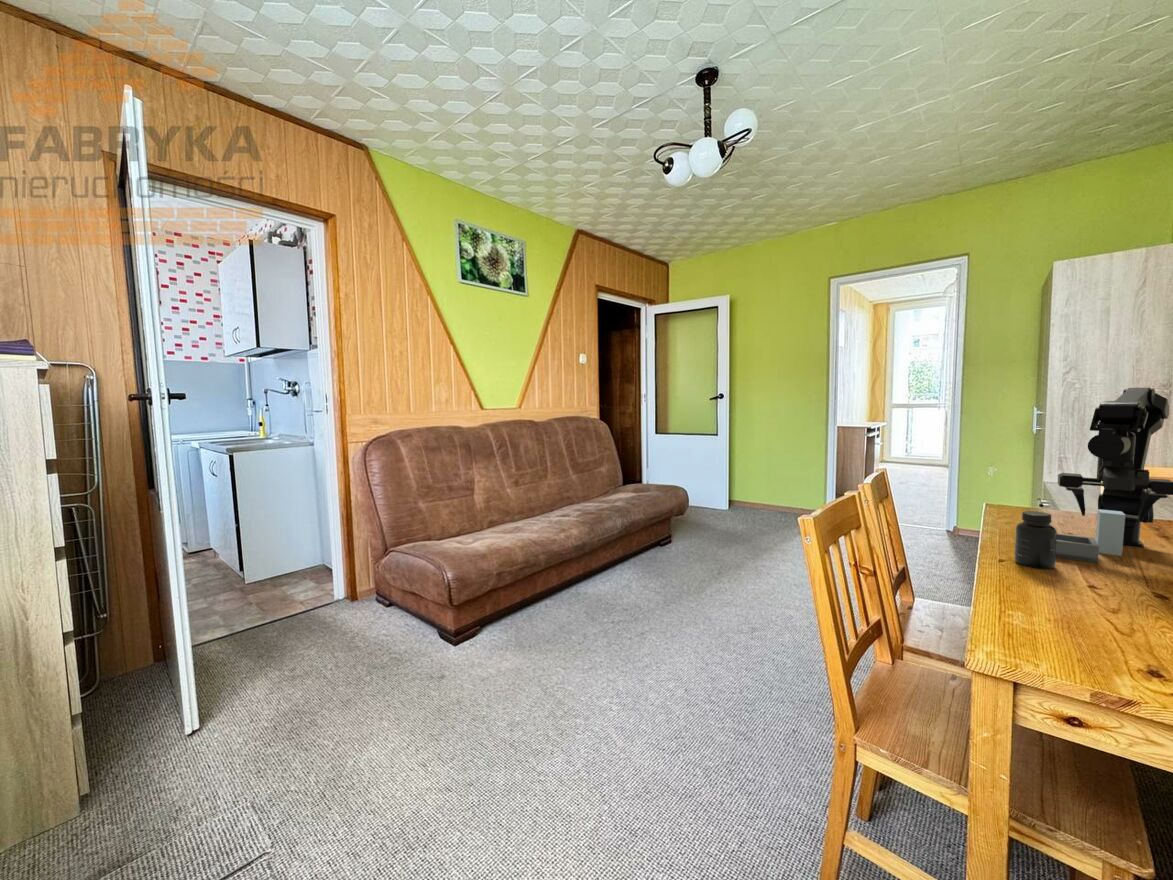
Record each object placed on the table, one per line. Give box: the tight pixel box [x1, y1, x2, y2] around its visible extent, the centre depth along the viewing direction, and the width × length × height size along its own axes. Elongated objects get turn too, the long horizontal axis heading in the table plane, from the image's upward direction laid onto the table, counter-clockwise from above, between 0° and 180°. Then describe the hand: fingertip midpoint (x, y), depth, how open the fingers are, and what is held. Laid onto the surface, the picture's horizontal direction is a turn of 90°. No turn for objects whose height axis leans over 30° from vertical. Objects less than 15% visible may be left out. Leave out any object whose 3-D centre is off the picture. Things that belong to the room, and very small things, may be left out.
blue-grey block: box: [1094, 508, 1125, 557], centre depth 114 cm, size 4×4×10 cm
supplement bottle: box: [1014, 510, 1058, 570], centre depth 108 cm, size 7×7×12 cm
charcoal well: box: [1056, 533, 1100, 564], centre depth 113 cm, size 8×8×4 cm
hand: (1110, 518), depth 114 cm, fingers open, 9 cm apart
